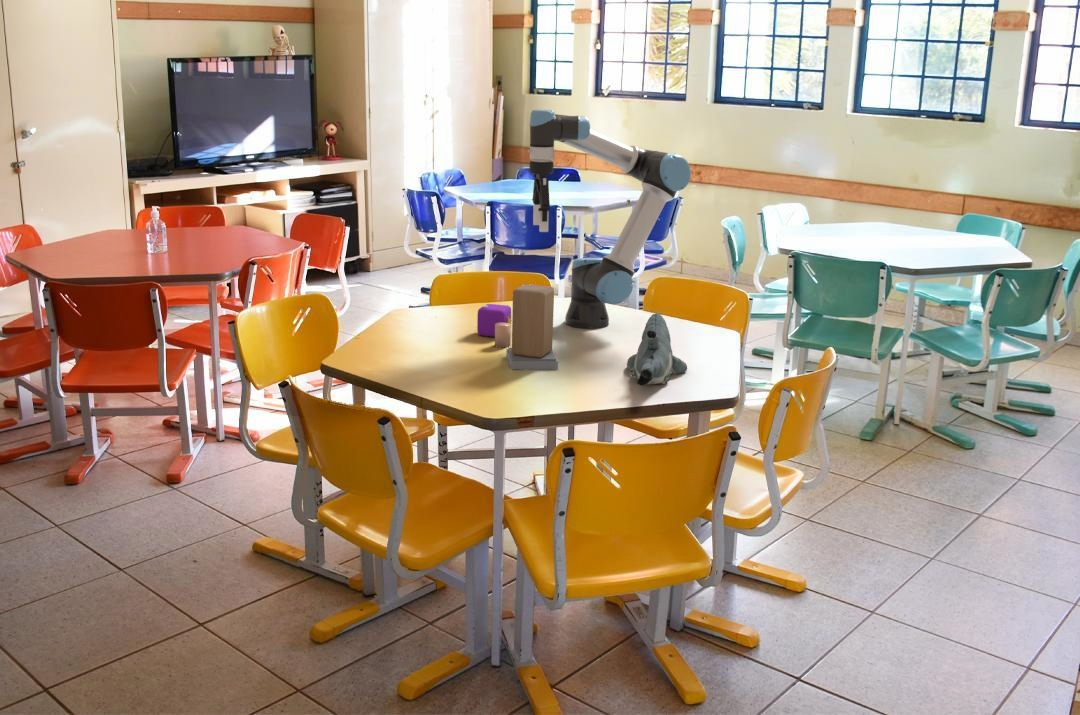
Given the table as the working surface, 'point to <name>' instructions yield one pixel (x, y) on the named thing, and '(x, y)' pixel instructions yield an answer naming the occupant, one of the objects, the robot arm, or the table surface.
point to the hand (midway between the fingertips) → (540, 228)
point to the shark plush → (655, 354)
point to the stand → (531, 361)
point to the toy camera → (492, 318)
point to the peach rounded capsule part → (502, 334)
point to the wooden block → (532, 320)
